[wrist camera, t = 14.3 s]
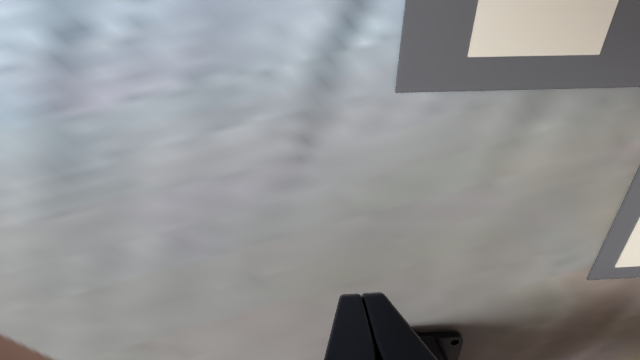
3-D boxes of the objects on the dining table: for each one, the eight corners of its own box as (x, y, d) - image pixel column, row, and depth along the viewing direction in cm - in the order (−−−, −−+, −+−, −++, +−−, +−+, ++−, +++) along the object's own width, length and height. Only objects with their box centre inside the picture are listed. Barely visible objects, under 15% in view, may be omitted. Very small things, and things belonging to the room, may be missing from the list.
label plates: (716, 271, 29) (718, 273, 29) (372, 291, 27) (373, 293, 27) (1091, -284, 15) (1099, -286, 15) (441, -315, 13) (443, -317, 13)
